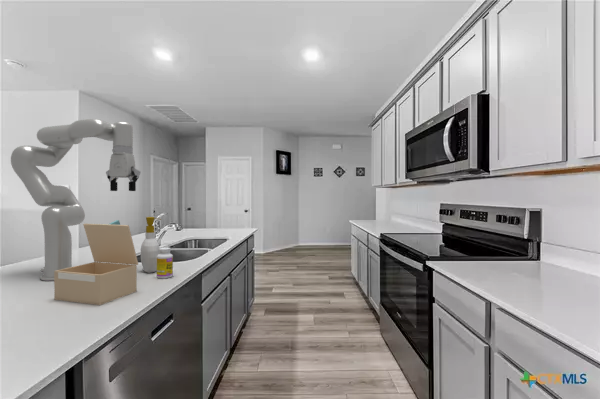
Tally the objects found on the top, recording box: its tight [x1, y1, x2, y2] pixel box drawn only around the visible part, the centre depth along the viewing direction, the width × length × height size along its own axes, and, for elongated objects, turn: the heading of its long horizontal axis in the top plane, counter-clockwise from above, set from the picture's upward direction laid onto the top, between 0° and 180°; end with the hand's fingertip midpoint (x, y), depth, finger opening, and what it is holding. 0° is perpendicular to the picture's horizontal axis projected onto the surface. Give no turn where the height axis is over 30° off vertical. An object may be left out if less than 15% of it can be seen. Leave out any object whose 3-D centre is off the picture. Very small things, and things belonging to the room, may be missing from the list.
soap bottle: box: [140, 216, 162, 274], centre depth 154 cm, size 14×9×26 cm, turn 34°
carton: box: [53, 261, 138, 306], centre depth 117 cm, size 20×16×10 cm
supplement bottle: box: [156, 247, 174, 279], centre depth 143 cm, size 7×7×13 cm
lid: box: [82, 219, 139, 266], centre depth 125 cm, size 21×16×6 cm
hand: (123, 190), depth 139 cm, fingers open, 9 cm apart
